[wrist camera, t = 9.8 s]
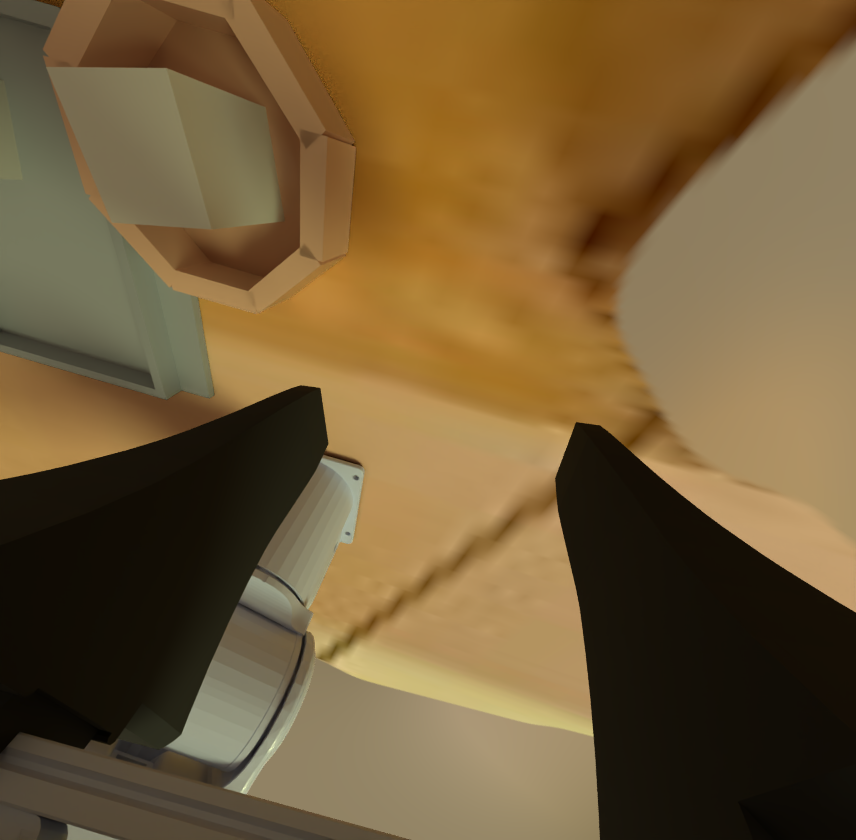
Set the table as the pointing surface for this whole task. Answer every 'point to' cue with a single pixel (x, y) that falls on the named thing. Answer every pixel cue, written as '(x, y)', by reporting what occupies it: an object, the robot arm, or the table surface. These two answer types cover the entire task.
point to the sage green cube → (171, 148)
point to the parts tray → (78, 250)
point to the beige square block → (7, 141)
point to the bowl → (289, 129)
